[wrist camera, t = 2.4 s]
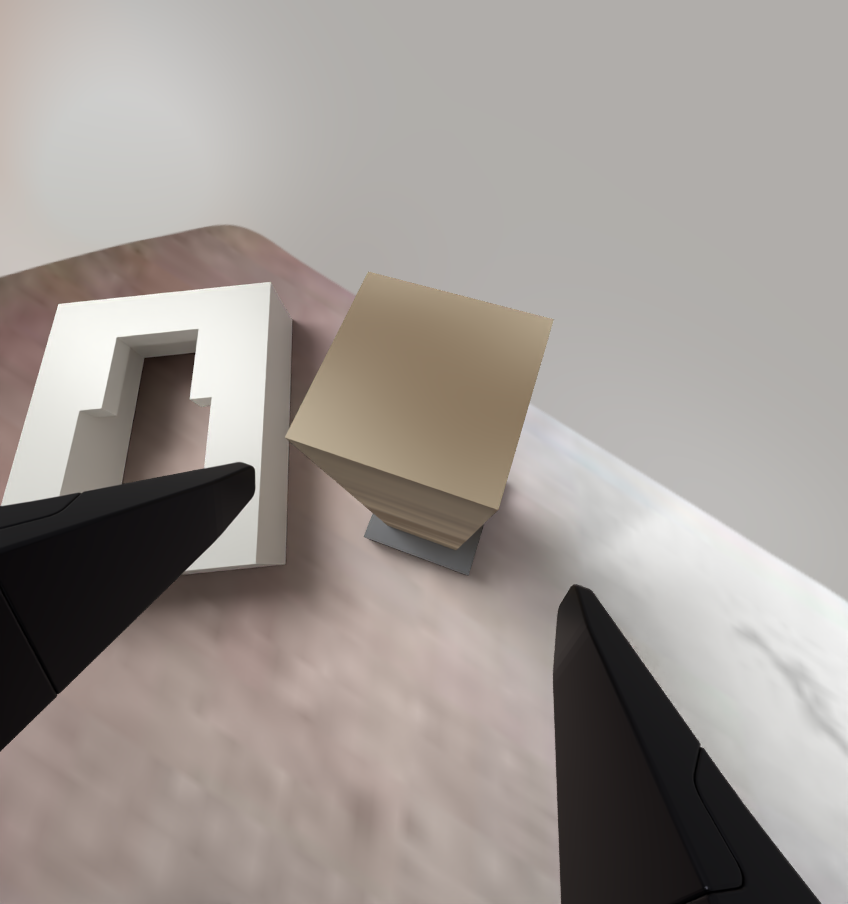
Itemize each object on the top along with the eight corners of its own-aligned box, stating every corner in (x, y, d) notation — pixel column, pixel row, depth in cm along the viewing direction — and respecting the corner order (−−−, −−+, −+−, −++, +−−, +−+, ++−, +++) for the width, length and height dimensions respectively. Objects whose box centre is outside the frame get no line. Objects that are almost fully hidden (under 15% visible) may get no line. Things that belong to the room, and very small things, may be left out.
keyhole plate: (285, 564, 20) (255, 563, 17) (52, 588, 20) (-24, 591, 17) (292, 319, 26) (270, 282, 22) (107, 338, 26) (58, 304, 22)
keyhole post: (466, 575, 20) (543, 592, 5) (367, 538, 20) (209, 470, 6) (496, 476, 21) (613, 292, 7) (403, 446, 22) (344, 227, 8)
